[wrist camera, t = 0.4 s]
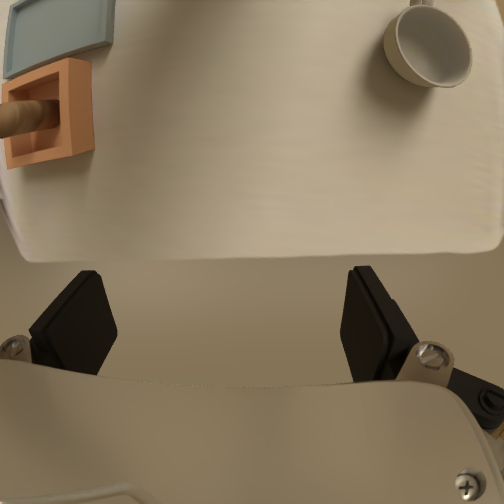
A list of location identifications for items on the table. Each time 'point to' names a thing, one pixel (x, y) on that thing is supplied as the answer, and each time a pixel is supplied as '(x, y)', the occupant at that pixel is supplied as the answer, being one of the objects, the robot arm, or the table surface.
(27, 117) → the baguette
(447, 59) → the teacup
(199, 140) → the table surface
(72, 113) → the open box
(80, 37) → the tray
